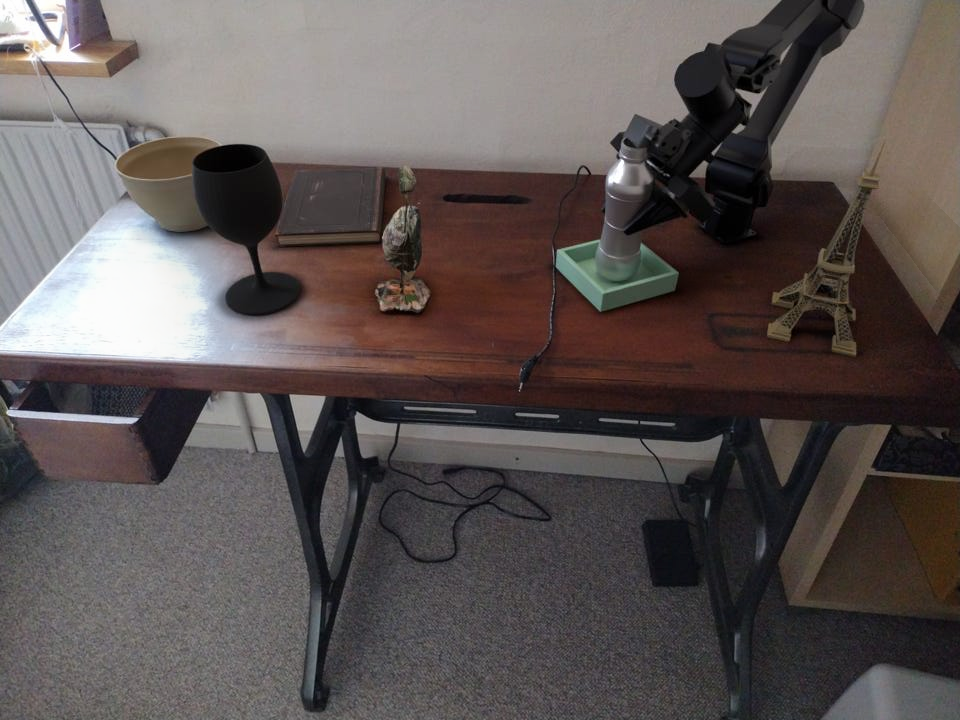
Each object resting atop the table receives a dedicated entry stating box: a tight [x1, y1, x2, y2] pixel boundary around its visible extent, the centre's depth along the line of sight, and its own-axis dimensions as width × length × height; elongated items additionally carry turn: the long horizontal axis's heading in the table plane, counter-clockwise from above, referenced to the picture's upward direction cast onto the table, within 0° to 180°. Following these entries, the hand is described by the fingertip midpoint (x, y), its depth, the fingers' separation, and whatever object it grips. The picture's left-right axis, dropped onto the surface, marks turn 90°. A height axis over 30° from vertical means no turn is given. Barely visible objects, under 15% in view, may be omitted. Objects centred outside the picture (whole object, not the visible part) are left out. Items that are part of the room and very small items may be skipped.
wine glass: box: [192, 143, 302, 317], centre depth 88 cm, size 10×10×20 cm
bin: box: [555, 239, 680, 313], centre depth 96 cm, size 12×12×3 cm
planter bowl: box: [114, 135, 223, 233], centre depth 107 cm, size 16×16×11 cm
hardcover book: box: [274, 166, 386, 248], centre depth 112 cm, size 16×23×2 cm
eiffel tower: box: [766, 139, 886, 358], centre depth 81 cm, size 11×11×25 cm
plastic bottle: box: [595, 137, 656, 281], centre depth 90 cm, size 6×7×20 cm
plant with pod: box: [374, 164, 431, 314], centre depth 88 cm, size 8×11×20 cm
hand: (613, 222), depth 91 cm, fingers closed on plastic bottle, 6 cm apart
